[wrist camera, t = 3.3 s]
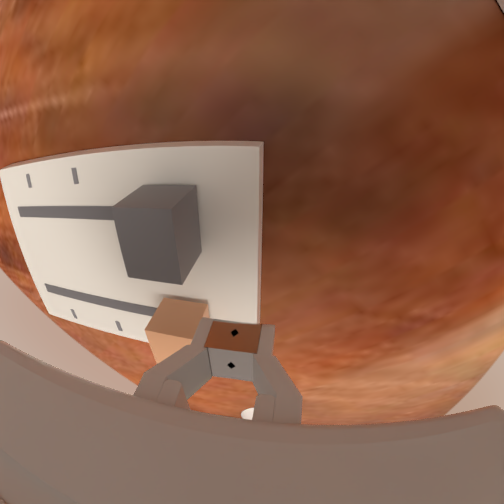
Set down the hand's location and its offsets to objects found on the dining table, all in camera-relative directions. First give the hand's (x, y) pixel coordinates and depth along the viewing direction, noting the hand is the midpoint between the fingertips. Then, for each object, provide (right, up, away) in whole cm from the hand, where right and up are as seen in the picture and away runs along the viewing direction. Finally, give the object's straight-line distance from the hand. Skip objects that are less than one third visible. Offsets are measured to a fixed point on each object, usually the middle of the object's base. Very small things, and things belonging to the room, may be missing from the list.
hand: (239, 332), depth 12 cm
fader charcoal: (-5, +6, +9) cm, 12 cm away
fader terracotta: (-5, -3, +14) cm, 15 cm away
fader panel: (-13, +3, +14) cm, 19 cm away
